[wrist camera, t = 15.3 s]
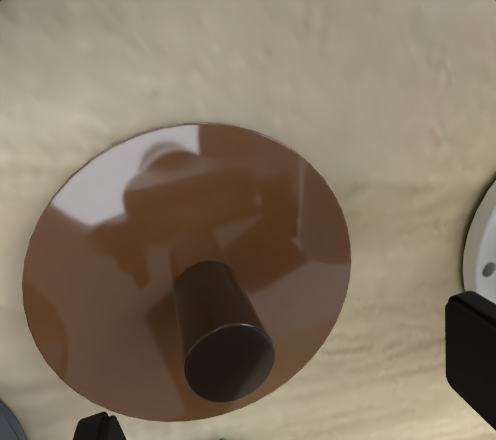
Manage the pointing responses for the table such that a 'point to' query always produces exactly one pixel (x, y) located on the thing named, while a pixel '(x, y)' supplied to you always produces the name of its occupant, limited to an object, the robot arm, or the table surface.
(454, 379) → the robot arm
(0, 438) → the crock
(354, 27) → the table surface
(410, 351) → the table surface
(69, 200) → the lid
